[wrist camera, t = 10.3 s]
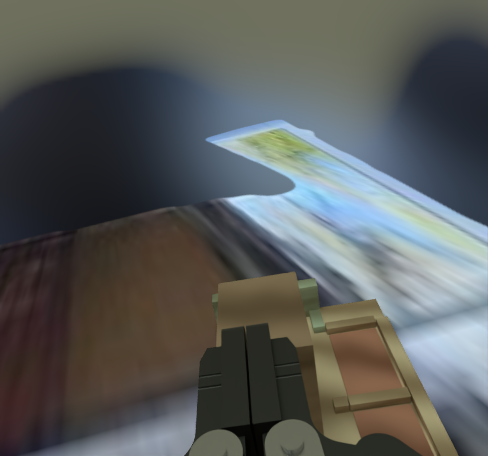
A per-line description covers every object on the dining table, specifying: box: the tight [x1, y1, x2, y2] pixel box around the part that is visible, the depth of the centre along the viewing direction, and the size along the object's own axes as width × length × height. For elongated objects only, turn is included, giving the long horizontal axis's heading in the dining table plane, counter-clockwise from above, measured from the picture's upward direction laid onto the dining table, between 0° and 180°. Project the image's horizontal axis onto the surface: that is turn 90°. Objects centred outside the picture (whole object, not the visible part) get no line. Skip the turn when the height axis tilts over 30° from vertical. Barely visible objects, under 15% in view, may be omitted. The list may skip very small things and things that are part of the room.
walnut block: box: [216, 272, 324, 435], centre depth 33 cm, size 8×6×13 cm
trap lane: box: [212, 278, 458, 456], centre depth 37 cm, size 27×18×5 cm, turn 2°
